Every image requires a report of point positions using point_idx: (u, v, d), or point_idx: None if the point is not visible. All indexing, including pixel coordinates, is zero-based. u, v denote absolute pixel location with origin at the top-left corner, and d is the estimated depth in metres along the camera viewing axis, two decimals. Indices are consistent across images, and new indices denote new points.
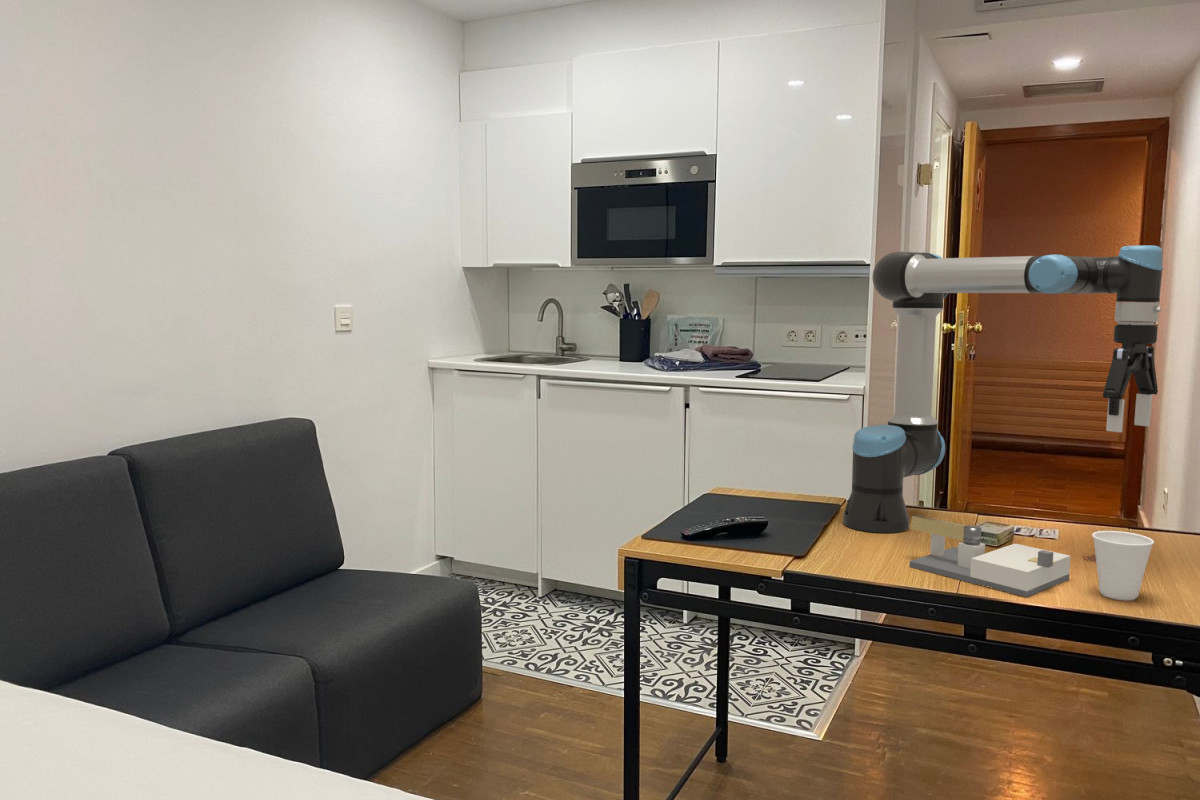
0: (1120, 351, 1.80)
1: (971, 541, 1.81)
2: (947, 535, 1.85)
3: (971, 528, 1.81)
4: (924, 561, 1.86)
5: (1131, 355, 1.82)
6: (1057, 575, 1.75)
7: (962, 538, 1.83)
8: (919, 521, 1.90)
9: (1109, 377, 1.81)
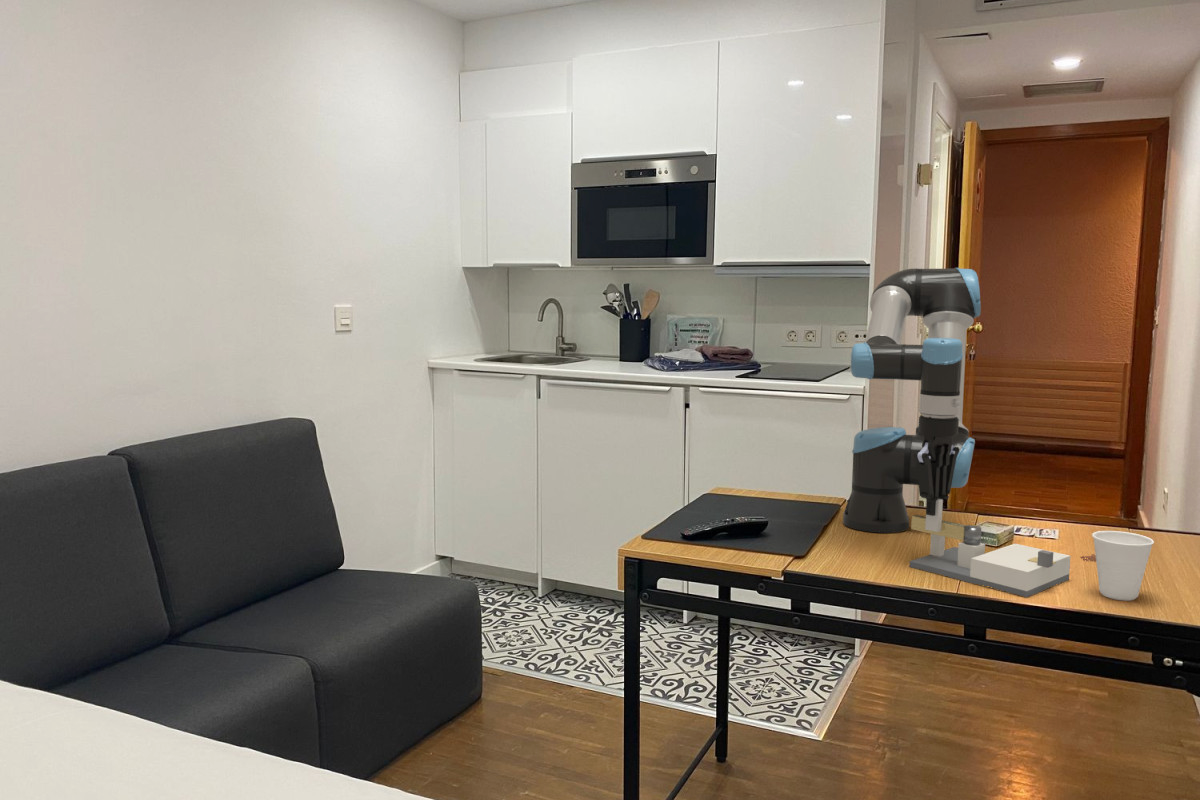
0: (920, 457, 1.81)
1: (971, 541, 1.81)
2: (947, 535, 1.85)
3: (971, 528, 1.81)
4: (924, 561, 1.86)
5: (932, 449, 1.82)
6: (1057, 575, 1.75)
7: (962, 538, 1.83)
8: (919, 521, 1.90)
9: (919, 481, 1.84)
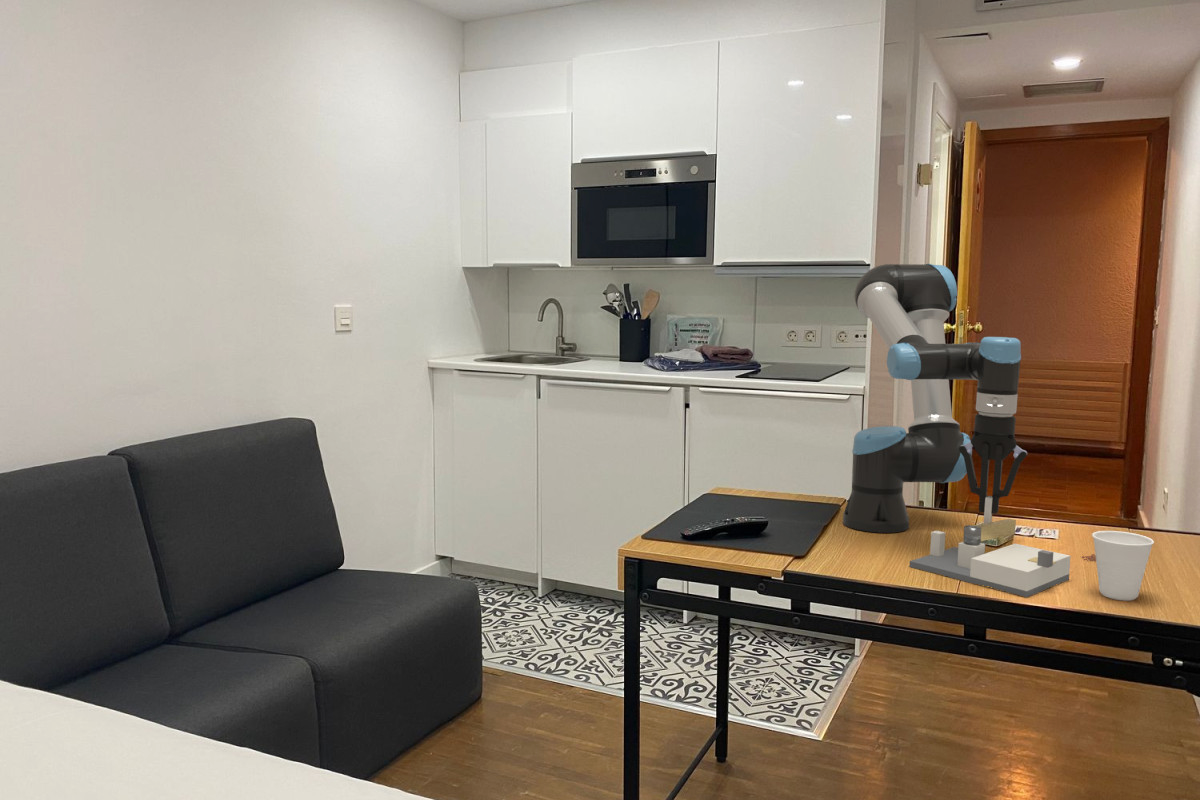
0: None
1: None
2: None
3: (967, 526, 1.83)
4: (924, 561, 1.86)
5: (975, 445, 1.86)
6: (1057, 575, 1.75)
7: None
8: None
9: None
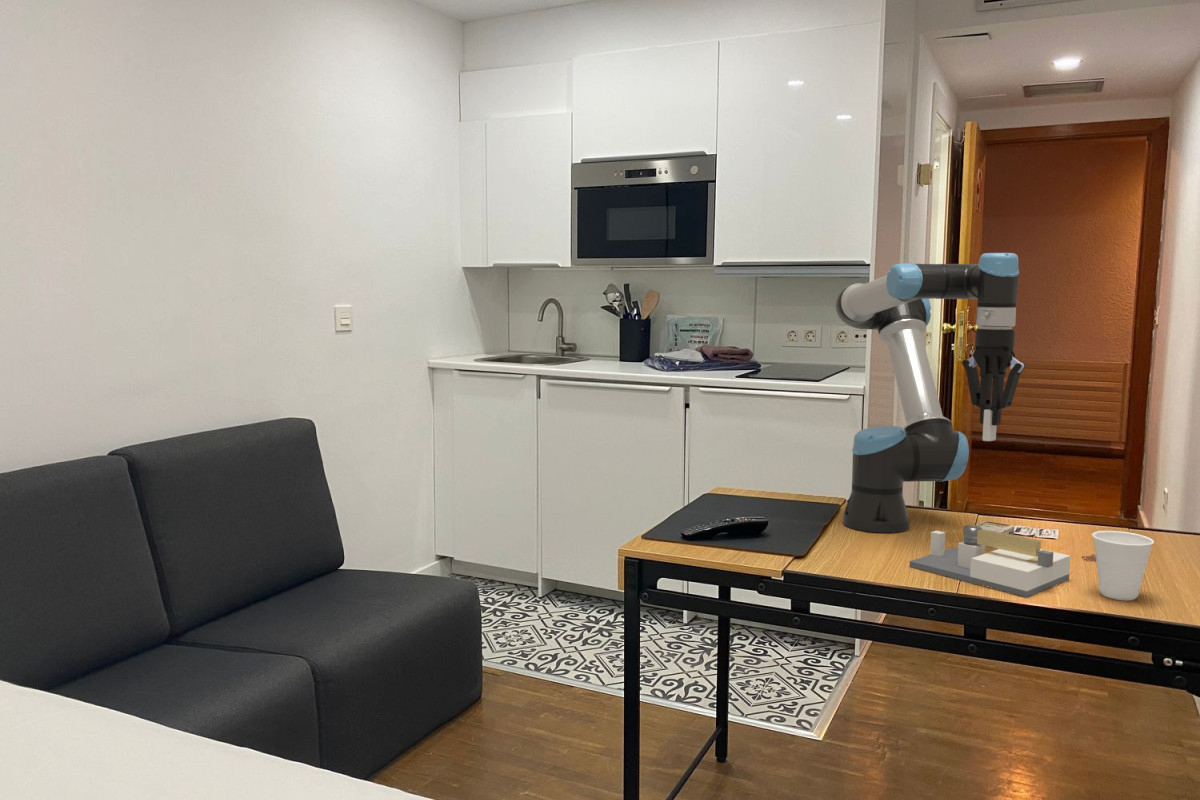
0: None
1: None
2: None
3: (973, 526, 1.83)
4: (924, 561, 1.86)
5: (976, 358, 1.94)
6: (1057, 575, 1.75)
7: None
8: None
9: None
